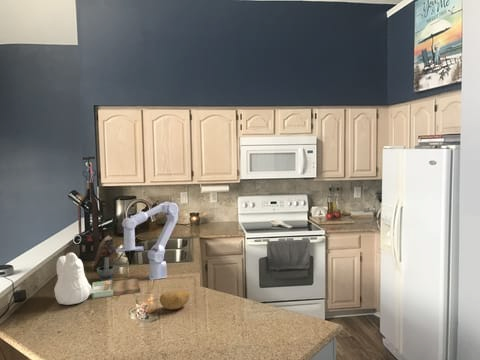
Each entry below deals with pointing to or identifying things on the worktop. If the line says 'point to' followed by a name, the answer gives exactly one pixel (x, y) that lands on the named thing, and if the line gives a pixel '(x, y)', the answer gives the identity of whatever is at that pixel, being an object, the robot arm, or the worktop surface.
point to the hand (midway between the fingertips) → (130, 264)
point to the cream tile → (98, 288)
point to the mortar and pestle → (106, 271)
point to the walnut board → (125, 287)
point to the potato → (174, 299)
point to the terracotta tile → (107, 285)
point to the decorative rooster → (71, 281)
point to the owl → (104, 253)
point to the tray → (103, 293)
